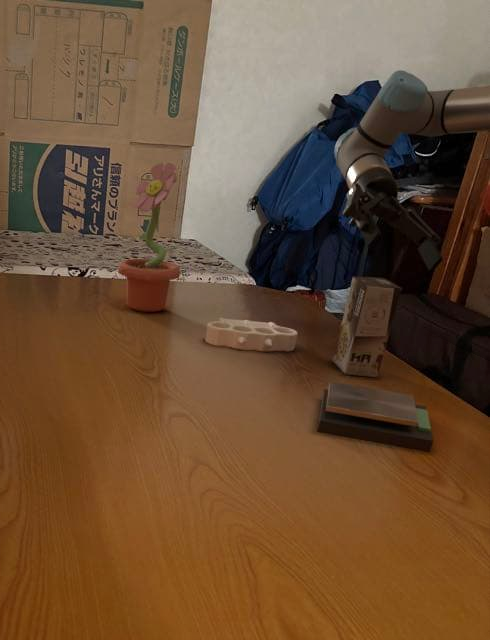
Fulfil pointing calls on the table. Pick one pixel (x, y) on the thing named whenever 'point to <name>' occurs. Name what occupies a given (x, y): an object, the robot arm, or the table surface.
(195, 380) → the table surface
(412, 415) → the scale pan
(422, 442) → the scale
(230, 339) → the knuckle duster
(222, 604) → the table surface
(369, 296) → the coffee box
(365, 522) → the table surface
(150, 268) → the decorative flower
